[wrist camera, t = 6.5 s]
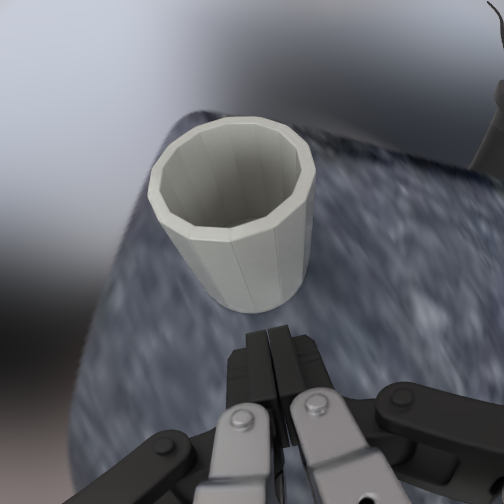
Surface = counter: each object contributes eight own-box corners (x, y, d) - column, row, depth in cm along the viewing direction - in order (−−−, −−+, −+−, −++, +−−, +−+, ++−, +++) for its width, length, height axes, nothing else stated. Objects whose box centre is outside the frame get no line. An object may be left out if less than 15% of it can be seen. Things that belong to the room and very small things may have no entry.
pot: (239, 201, 19) (214, 103, 13) (327, 245, 17) (343, 145, 11) (179, 277, 17) (117, 196, 11) (269, 335, 15) (252, 276, 9)
